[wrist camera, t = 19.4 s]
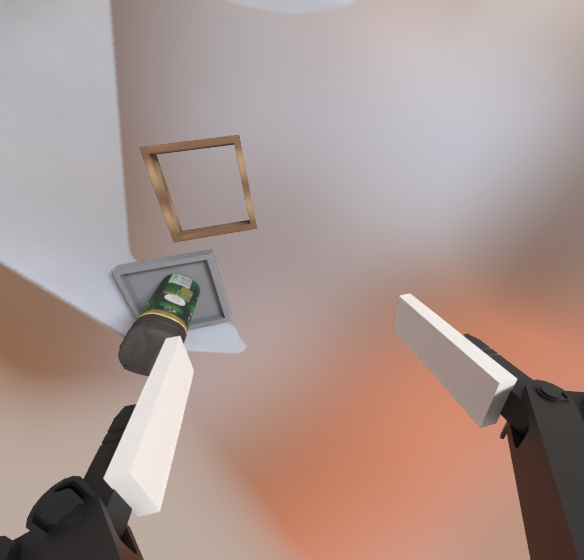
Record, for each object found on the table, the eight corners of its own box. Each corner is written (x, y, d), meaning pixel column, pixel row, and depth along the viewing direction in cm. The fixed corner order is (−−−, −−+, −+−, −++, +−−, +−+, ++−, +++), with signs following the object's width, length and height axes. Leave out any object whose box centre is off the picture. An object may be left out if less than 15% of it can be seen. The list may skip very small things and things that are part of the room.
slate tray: (118, 265, 46) (111, 271, 44) (212, 249, 48) (210, 253, 46) (150, 329, 54) (146, 338, 51) (231, 313, 55) (230, 320, 53)
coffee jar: (186, 317, 53) (161, 387, 36) (149, 302, 50) (103, 371, 33) (207, 284, 50) (190, 343, 34) (169, 266, 47) (130, 321, 31)
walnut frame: (147, 148, 39) (139, 147, 36) (239, 136, 40) (239, 134, 37) (178, 236, 46) (173, 242, 43) (256, 224, 47) (256, 228, 44)
